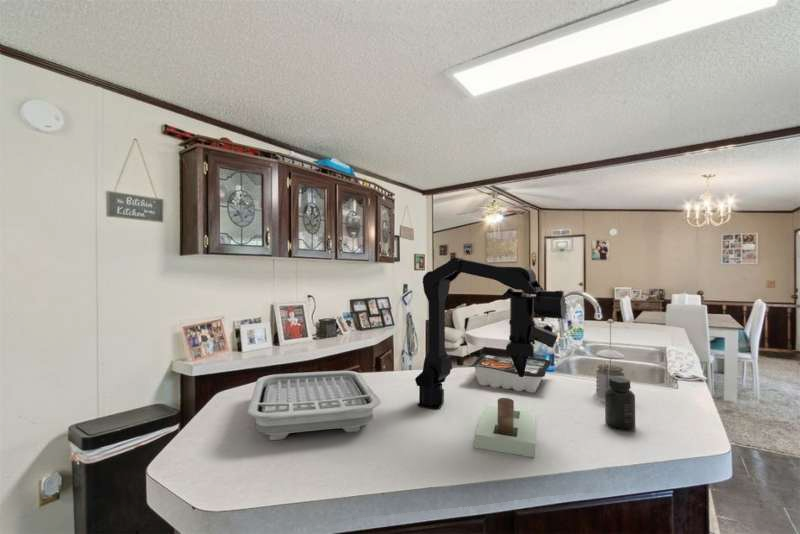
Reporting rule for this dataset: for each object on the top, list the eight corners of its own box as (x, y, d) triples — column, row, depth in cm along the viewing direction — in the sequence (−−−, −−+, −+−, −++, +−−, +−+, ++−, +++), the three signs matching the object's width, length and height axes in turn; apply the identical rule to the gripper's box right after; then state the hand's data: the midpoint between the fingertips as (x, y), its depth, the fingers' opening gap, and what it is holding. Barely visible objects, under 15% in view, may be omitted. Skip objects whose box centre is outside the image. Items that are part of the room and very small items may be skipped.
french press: (630, 398, 120) (631, 319, 120) (623, 408, 111) (624, 322, 111) (596, 391, 126) (597, 316, 127) (587, 400, 118) (587, 319, 118)
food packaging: (468, 364, 132) (484, 352, 152) (467, 386, 132) (484, 370, 152) (544, 374, 120) (551, 359, 141) (544, 397, 120) (551, 379, 141)
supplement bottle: (631, 422, 101) (631, 377, 101) (638, 433, 94) (638, 385, 94) (602, 419, 103) (602, 375, 103) (607, 429, 96) (607, 382, 96)
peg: (496, 445, 87) (496, 402, 87) (497, 438, 91) (498, 396, 91) (513, 448, 86) (513, 404, 86) (514, 441, 89) (514, 398, 89)
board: (535, 457, 82) (535, 443, 82) (474, 447, 86) (474, 434, 86) (535, 422, 100) (535, 411, 100) (485, 415, 105) (486, 404, 105)
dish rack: (358, 390, 127) (358, 366, 127) (385, 438, 91) (385, 404, 91) (257, 399, 118) (257, 373, 118) (244, 455, 82) (244, 418, 82)
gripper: (557, 322, 86) (556, 391, 86) (554, 313, 103) (554, 370, 103) (506, 319, 90) (505, 385, 90) (511, 311, 107) (511, 366, 107)
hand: (521, 376), depth 97 cm, fingers closed
